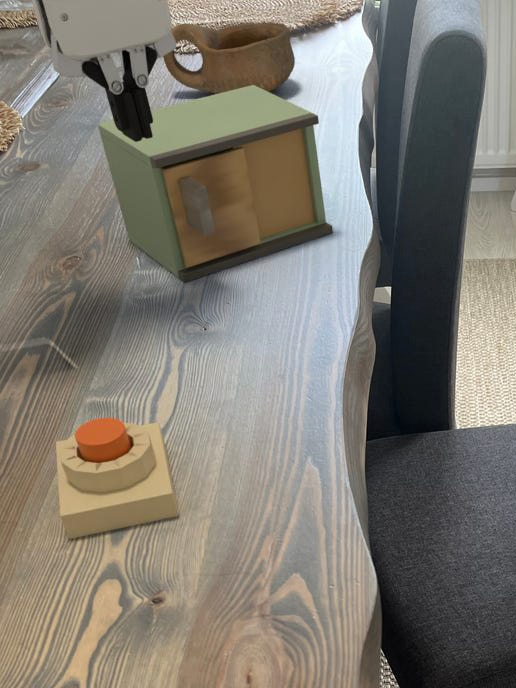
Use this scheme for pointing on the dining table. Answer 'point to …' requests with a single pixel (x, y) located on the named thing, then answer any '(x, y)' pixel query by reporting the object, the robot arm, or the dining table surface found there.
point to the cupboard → (211, 138)
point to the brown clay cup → (235, 57)
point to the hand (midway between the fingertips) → (137, 135)
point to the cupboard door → (212, 206)
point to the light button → (102, 440)
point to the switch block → (116, 485)
